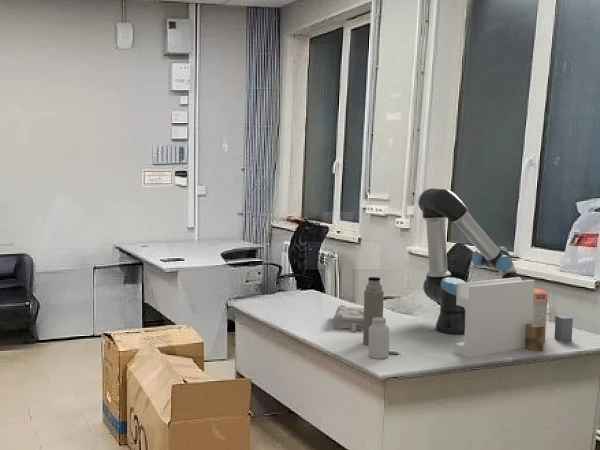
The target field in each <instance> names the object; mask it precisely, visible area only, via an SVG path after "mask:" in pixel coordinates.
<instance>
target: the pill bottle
mask: <svg viewBox="0 0 600 450" xmlns="http://www.w3.org/2000/svg"><path fill="white" fill-rule="evenodd" d="M372 324H373V325H371V326H370V327H369V346H368V348H367V349H368V353H367V354H368V357H369V358H372V359H376V360H383V359H384V360H385V359H387V358H389V356H390V327H389V326H388V325H387V319H386V318H385V317H383V318H382V317H375V318H372Z"/></svg>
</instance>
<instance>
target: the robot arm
mask: <svg viewBox="0 0 600 450" xmlns="http://www.w3.org/2000/svg"><path fill="white" fill-rule="evenodd" d="M417 204H418V207H419V209H420V210H421V211H422V219H423V220H424V221H426V235H427V236H426V237H427V253H428V256H427V257H428V272H426V275H425V276H426V278H425V280H424V282H423V287H422V288H423V292H424V294H425V296H426V297H427V298H429V299H430V300H432V301H433V302H437V303H440V307H439V308H440V309H439V314H438V318H437V320H436V323H435V330H436V331H438V332H439V333H444V334H450V335H465V308H464V307H462V306H459V305H456V302H457V301H456V296H457V283H465V282H466V281H465V280H463V279H461V278H457V277H452V273H451V272H450V271H449V270H448V254H447V236H446V235H447V233H446V232H447V231H446V219H448V221H449V222H450V223H454V224H455V225H456V226H457V227H458V229H459V231H461V232H462V234H464V235H465V237H466V238H467V239H468V240H469V241H470V242H471V244H472V245H473V246H474V247H475V248H476V249H477V250H474V251H473V252H472V254H471V263H472V265H474V266H475V267H485V268H488V269H492V270H497V271H498V273H499V275H500V279H506V278H516V277H519V275H518V272H517V270H516V267H515V265H514V262H513V260H512V257H511V255H510V253H509V251H508V249H507V247H504V246H499V247H498V246H497V245H496V244H495V243H494V241H493V240H492V239H491V238H490V237H489V235H488V234H487V233H486V232H485V231H484V230H483V228H482V227H481V226H480V225H479V223H477V221H476V220H475V219H474V218H473V216H471V214H470V212H468V207H467V206H466V204H464V202H463V201H462V200H461V199H460V198H459V197H458V195H456V194H455V193H454V192H453V191H451V190H449V189H445V188H433V187H432V188H427V189H425V190H424V191H423V192H421V194H420V195H419V196H418V199H417Z"/></svg>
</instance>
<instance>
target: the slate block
mask: <svg viewBox="0 0 600 450" xmlns="http://www.w3.org/2000/svg"><path fill="white" fill-rule="evenodd" d="M554 318H555V320H554V321H555V322H554V339H555V340H557V341H560V342H572V341H573V339H572V338H573V323H574V322H573V317H570V316H567V315H555V317H554Z"/></svg>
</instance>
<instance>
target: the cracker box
mask: <svg viewBox="0 0 600 450" xmlns="http://www.w3.org/2000/svg"><path fill="white" fill-rule="evenodd" d="M547 308H548V293H547V292H545V291H544V290H543V289H542V288H538V287H537V288H536V287H534V297H533V319H532V324H539V325H542V326H544V340H543V342H546V329H547V327H546V325H547V312H548V311H547V310H548V309H547Z"/></svg>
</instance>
